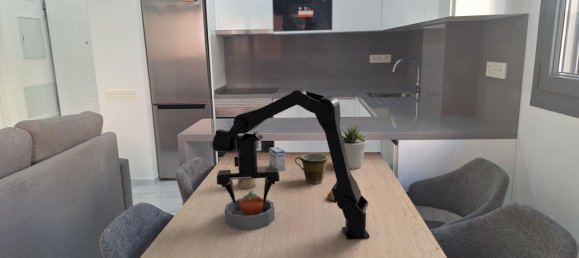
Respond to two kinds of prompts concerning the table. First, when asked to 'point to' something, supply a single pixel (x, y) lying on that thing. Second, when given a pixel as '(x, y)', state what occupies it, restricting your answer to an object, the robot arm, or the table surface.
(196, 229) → the table surface
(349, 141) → the potted plant
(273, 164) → the medicine box
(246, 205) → the tomato
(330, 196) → the pastry
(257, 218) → the bowl
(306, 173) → the ceramic cup
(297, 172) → the table surface
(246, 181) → the figurine
